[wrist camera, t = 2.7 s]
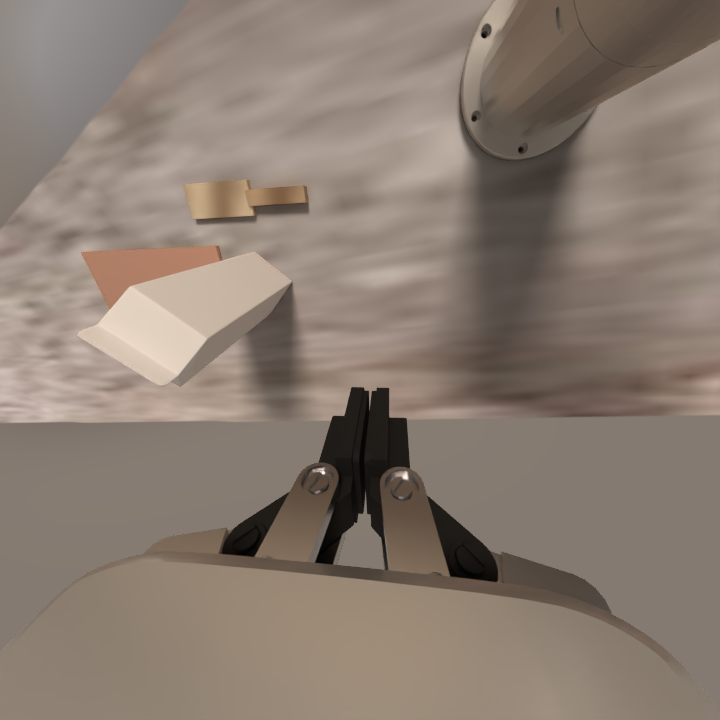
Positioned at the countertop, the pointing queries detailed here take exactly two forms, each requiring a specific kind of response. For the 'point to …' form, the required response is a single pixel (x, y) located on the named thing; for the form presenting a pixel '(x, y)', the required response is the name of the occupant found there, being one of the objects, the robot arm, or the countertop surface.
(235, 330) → the milk
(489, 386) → the countertop surface
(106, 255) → the mat
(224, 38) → the countertop surface
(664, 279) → the countertop surface
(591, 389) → the countertop surface
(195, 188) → the turner
